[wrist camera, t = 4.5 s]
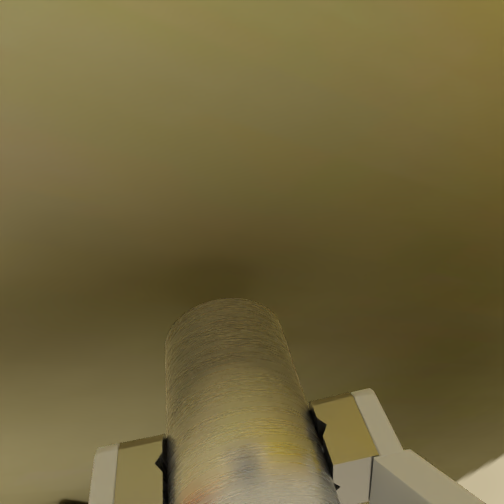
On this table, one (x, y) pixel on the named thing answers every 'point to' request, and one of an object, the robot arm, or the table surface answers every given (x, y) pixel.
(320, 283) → the table surface
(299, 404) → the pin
